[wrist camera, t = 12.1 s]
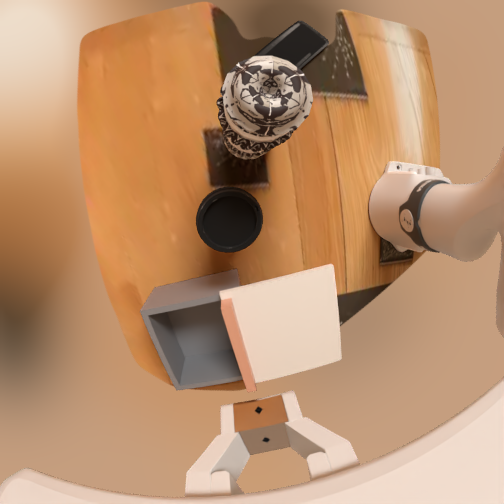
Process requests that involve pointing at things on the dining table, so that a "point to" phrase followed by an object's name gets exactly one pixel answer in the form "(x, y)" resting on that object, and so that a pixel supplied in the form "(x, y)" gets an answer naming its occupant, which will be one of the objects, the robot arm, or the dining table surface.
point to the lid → (283, 324)
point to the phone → (296, 44)
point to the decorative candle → (262, 105)
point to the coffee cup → (229, 219)
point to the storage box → (193, 330)
